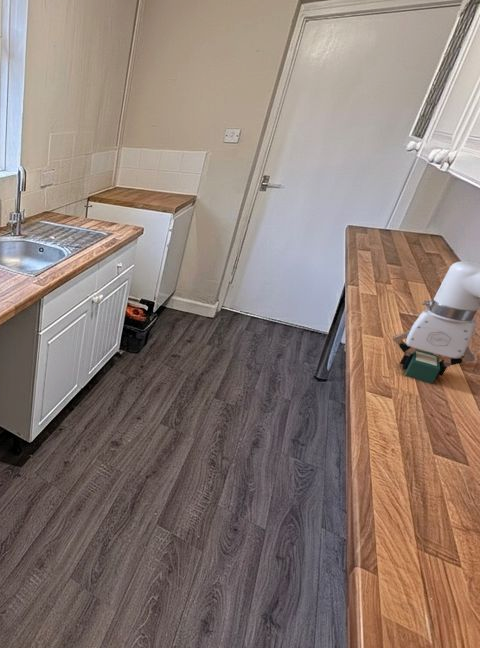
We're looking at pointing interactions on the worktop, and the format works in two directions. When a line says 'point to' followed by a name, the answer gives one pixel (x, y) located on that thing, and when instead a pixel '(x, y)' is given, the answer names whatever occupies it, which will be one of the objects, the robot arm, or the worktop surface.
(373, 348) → the worktop surface
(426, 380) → the tea packet
